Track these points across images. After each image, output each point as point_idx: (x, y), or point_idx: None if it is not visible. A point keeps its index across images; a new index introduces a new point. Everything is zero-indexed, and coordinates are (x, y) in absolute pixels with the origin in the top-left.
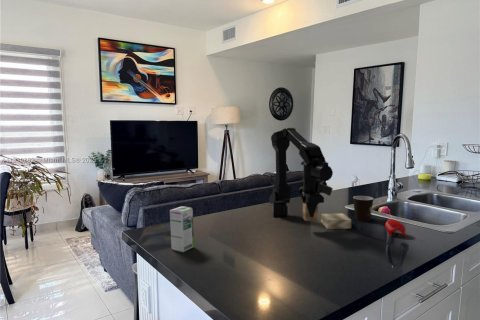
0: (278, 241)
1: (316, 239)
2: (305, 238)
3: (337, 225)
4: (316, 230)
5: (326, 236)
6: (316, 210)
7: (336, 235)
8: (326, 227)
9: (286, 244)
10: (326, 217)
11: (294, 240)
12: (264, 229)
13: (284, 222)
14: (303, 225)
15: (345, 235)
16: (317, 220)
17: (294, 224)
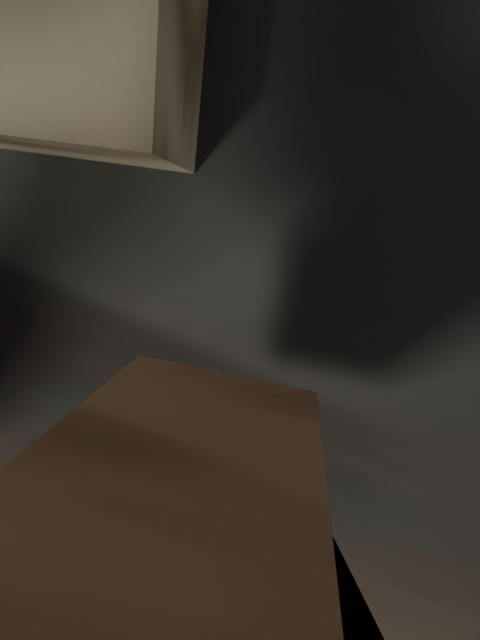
0: (395, 635)
1: (462, 409)
2: (401, 474)
3: (192, 15)
4: (226, 303)
5: (419, 287)
6: (322, 579)
7: (429, 163)
8: (164, 169)
9: (472, 625)
10: (20, 106)
11: (415, 555)
12: None
13: (14, 450)
14: (83, 353)
15: (472, 39)
16: (316, 400)
17: (58, 406)
